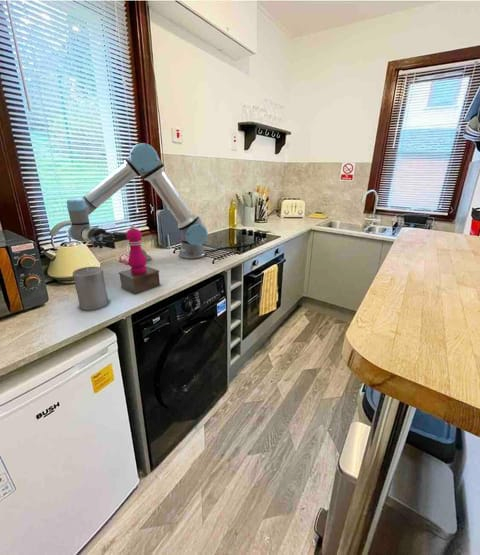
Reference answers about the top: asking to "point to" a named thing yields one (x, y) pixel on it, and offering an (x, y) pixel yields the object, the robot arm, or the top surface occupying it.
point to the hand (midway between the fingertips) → (127, 241)
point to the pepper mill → (136, 251)
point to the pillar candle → (90, 288)
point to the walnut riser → (139, 280)
